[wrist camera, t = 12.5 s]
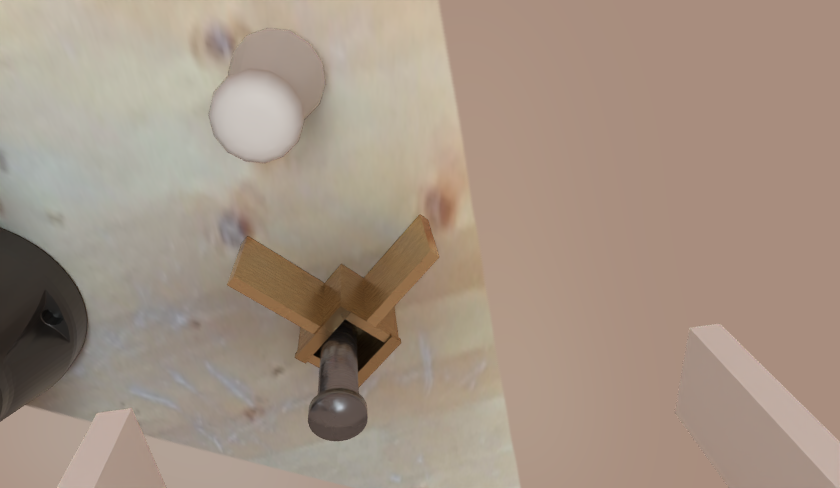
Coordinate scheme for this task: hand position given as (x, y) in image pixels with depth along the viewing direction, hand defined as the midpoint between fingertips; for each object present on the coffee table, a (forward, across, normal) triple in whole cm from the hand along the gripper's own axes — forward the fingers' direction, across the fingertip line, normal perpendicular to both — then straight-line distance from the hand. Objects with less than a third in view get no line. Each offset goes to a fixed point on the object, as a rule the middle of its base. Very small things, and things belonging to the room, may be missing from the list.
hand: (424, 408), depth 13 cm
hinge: (+29, -4, -10) cm, 31 cm away
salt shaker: (+29, -6, +3) cm, 30 cm away
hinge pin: (+29, -5, -15) cm, 33 cm away
